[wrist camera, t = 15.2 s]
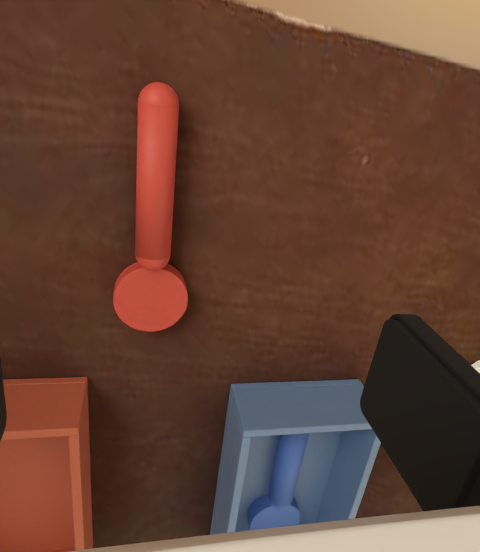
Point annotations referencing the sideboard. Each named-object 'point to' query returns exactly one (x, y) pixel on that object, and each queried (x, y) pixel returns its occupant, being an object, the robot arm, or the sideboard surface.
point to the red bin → (46, 466)
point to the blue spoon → (281, 487)
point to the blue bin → (317, 457)
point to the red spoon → (153, 219)
